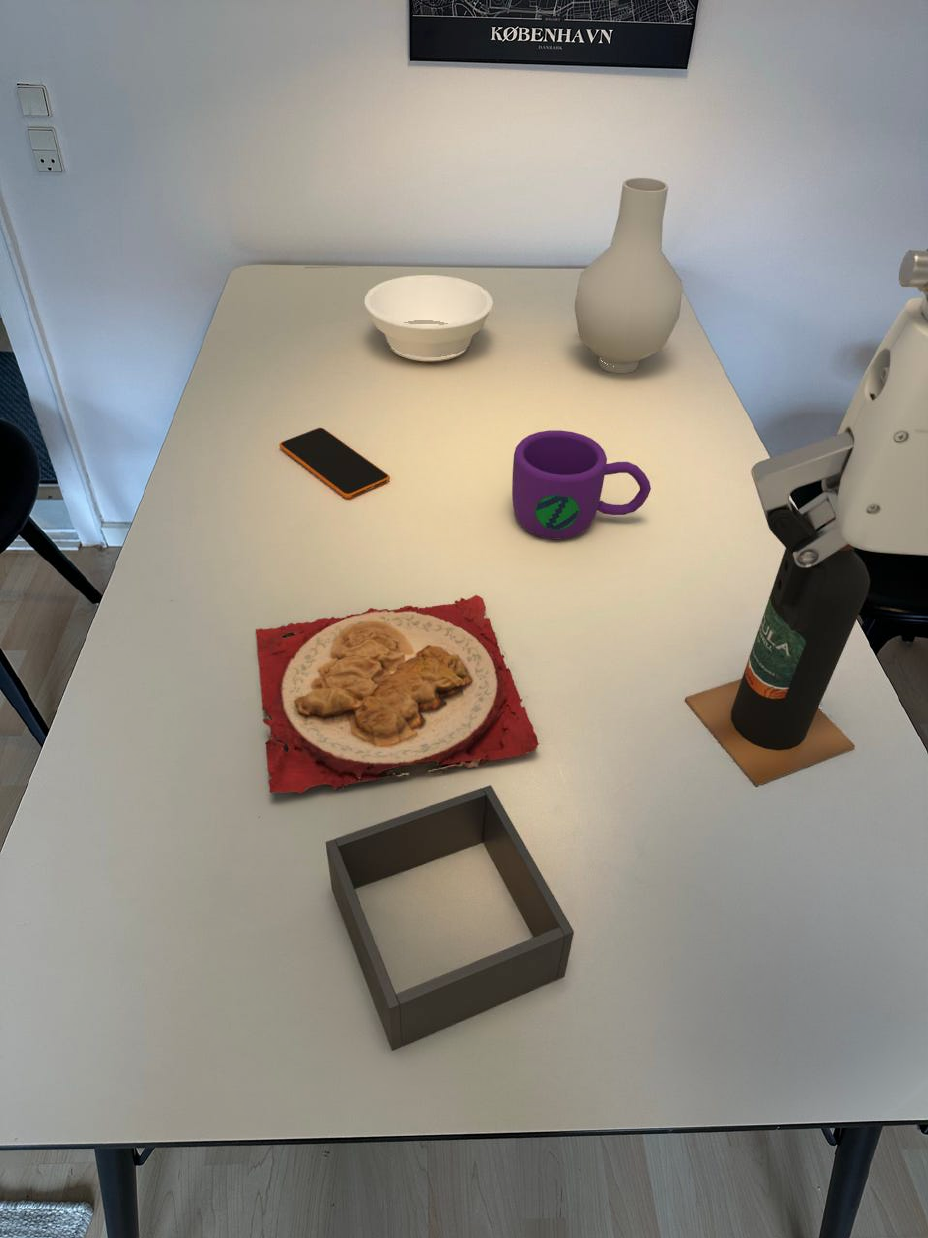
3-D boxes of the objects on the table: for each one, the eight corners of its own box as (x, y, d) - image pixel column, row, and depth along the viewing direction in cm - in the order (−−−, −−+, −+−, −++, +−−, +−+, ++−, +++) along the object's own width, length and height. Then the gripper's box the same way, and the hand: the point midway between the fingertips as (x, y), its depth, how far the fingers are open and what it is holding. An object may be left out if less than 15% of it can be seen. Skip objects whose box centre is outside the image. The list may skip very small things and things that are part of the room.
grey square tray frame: (565, 976, 71) (574, 931, 67) (391, 1051, 67) (388, 1009, 62) (487, 832, 81) (491, 784, 76) (331, 889, 77) (325, 841, 72)
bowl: (438, 310, 163) (438, 264, 158) (516, 352, 152) (519, 304, 146) (341, 341, 153) (338, 293, 148) (418, 388, 141) (417, 339, 136)
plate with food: (539, 761, 87) (543, 737, 85) (270, 802, 82) (267, 778, 80) (480, 605, 105) (482, 581, 103) (255, 630, 100) (252, 607, 97)
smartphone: (347, 500, 118) (346, 495, 118) (278, 448, 127) (277, 442, 127) (392, 480, 122) (392, 475, 122) (322, 430, 131) (322, 425, 131)
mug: (508, 543, 113) (513, 475, 106) (510, 491, 121) (515, 425, 114) (647, 551, 112) (661, 484, 105) (640, 499, 121) (652, 433, 114)
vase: (656, 341, 156) (687, 167, 137) (679, 387, 144) (717, 203, 125) (561, 342, 155) (579, 166, 136) (576, 388, 143) (598, 202, 124)
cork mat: (854, 749, 89) (855, 745, 89) (755, 787, 86) (757, 783, 85) (777, 669, 97) (778, 665, 97) (684, 700, 94) (685, 697, 93)
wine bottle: (805, 759, 88) (917, 505, 67) (726, 738, 89) (813, 484, 69) (809, 704, 93) (914, 454, 73) (734, 686, 95) (818, 436, 74)
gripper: (835, 318, 32) (727, 660, 44) (1332, 342, 32) (1091, 680, 43) (790, 241, 38) (705, 562, 49) (1212, 261, 37) (1027, 580, 49)
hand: (885, 617), depth 46 cm, fingers open, 9 cm apart
